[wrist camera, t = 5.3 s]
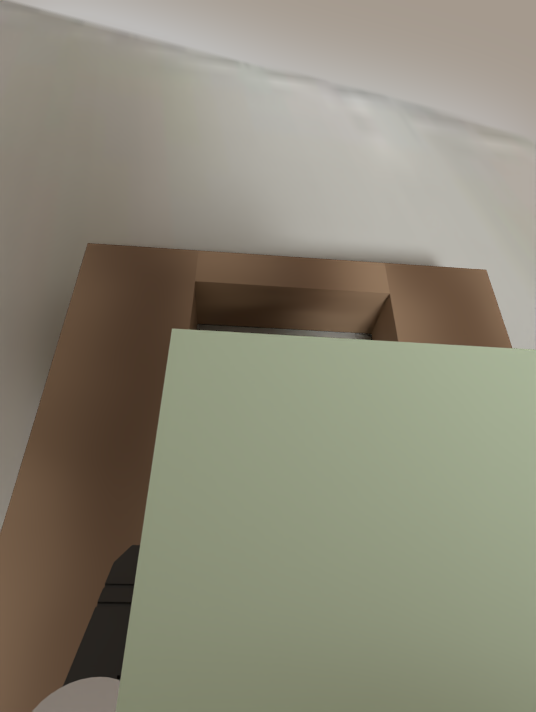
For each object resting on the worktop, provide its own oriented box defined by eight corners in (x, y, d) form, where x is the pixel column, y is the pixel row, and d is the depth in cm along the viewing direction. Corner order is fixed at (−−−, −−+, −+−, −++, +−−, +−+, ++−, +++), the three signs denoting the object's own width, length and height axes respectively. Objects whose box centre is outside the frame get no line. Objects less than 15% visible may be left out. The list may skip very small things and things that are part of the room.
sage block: (187, 800, 11) (-61, 1919, 1) (204, 570, 14) (172, 329, 4) (394, 798, 12) (1536, 1652, 2) (371, 574, 14) (732, 360, 4)
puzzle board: (-76, 973, 9) (-159, 1060, 7) (101, 288, 19) (87, 243, 17) (632, 947, 11) (735, 1017, 8) (458, 310, 20) (486, 270, 18)
